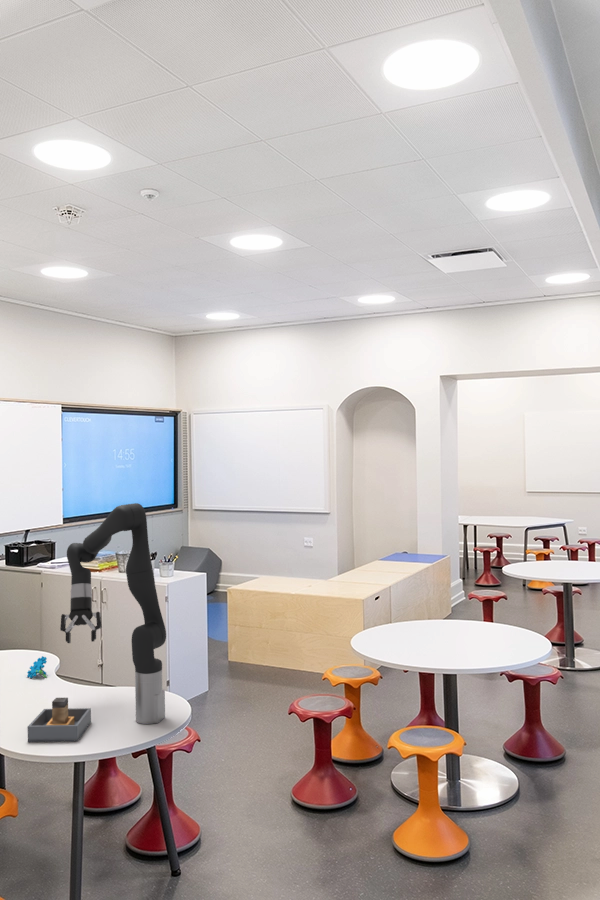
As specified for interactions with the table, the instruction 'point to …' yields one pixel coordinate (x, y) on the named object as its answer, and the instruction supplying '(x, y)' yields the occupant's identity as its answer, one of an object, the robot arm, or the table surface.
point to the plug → (60, 711)
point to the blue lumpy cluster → (37, 668)
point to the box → (59, 726)
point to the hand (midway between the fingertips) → (81, 642)
